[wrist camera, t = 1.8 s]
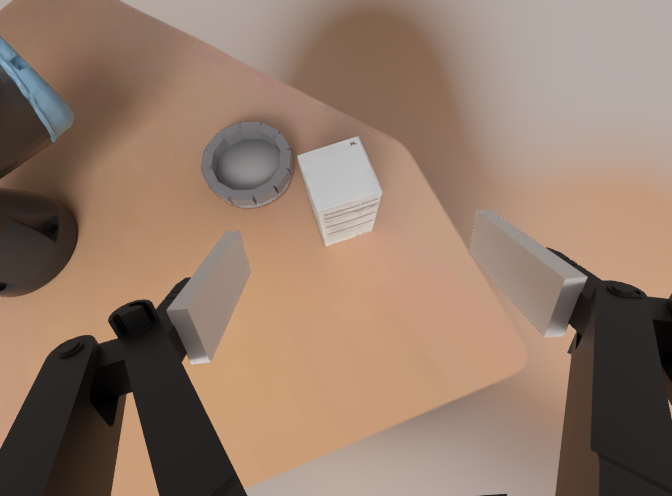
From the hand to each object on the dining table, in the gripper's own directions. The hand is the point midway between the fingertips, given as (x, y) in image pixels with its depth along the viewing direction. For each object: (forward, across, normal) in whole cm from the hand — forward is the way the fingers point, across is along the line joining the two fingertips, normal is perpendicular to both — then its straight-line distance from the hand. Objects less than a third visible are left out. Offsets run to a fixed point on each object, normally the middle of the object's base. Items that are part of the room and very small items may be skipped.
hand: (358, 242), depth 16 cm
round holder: (+31, -14, -2) cm, 34 cm away
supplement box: (+24, -1, -8) cm, 26 cm away
